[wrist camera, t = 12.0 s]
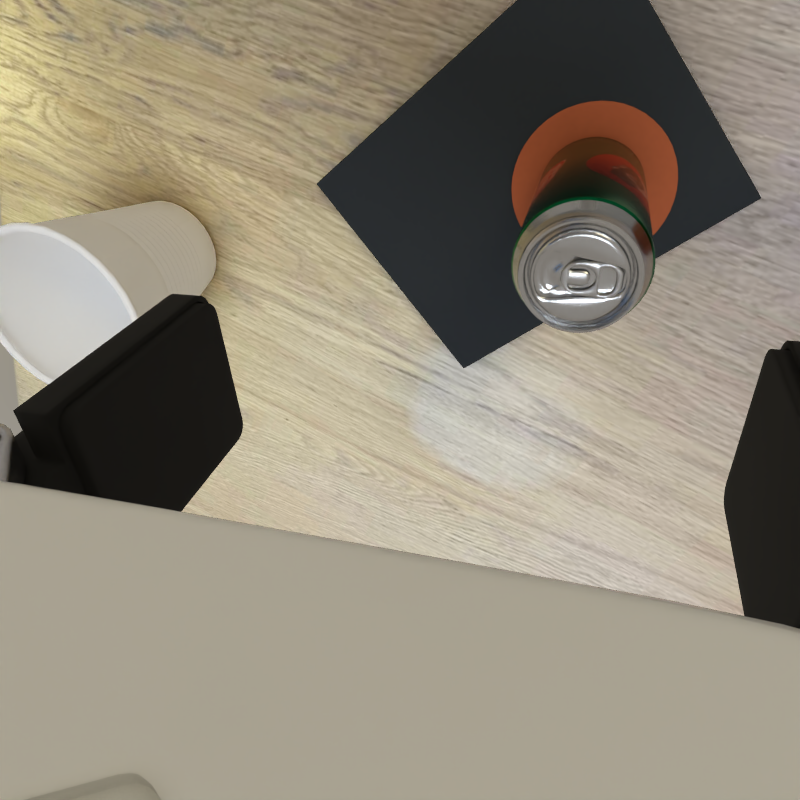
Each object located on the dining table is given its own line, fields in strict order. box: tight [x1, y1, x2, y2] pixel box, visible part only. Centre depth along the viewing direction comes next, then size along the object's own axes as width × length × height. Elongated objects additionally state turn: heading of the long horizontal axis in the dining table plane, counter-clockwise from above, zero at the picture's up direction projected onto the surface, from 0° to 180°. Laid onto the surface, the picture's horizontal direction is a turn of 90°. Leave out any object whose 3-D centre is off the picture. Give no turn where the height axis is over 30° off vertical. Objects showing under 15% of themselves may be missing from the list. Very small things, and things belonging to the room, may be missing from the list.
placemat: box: [317, 0, 761, 368], centre depth 33 cm, size 18×14×1 cm
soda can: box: [511, 137, 655, 333], centre depth 27 cm, size 5×5×12 cm
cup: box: [0, 201, 216, 385], centre depth 37 cm, size 10×10×11 cm
